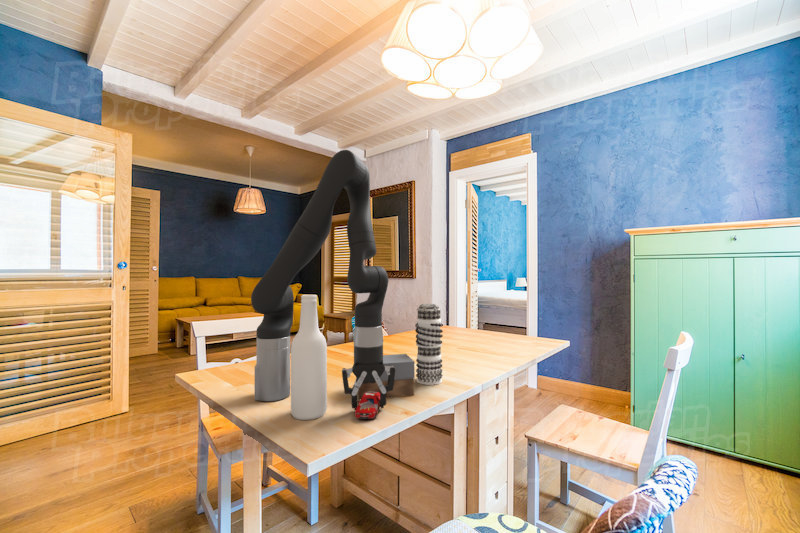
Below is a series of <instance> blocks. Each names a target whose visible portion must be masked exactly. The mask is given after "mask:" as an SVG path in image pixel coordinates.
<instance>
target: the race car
mask: <svg viewBox="0 0 800 533" xmlns="http://www.w3.org/2000/svg"><path fill="white" fill-rule="evenodd" d="M380 409H381V407H380V393H379V392H366V393H364V395H363V397H362V398H361V399H360V400H357V408H356V410H354V415H355V416H354V417H355V419H359V420H372V419H377V416H378V413H379V410H380Z"/></svg>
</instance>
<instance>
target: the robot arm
mask: <svg viewBox="0 0 800 533" xmlns="http://www.w3.org/2000/svg"><path fill="white" fill-rule="evenodd" d="M370 176H371V175H370V170H369V167H368V166H367V164H366V163H365V162H363V160H362V159H361V158H359V157H358V156H357V155H356V154H355V153H353V151H351V150H349V149H342V150H340V151H337V152H336V153H335V154H334V155H333V156H332V157H331V159H330V160H329V162H328V164H327V166H326V168H325V169H324V172H323V173H322V177H321V178H320V180H319V182H318V185H317V186H316V189H315V191H314V193H313V195H312V197H311V198H310V199H309V201H308V203H307V205H306V207H305V208H304V210H303V212H302V214H301V215H300V216H299V219H298V220H297V221H296V223H295V225H294V226H293V228H292V230H290V233H289V235H288V237H287V239H286V240H285V242H284V244H283V246H282V247H281V249H280V250H279V252H278V254H277V255H276V258H275V259H274V260H273V262H272V264H271V265H270V266H269V267H268V269H267V270H266V271H265V273H264V275H263V276H262V277H261V279H260V280H259V281H258V282H257V284H256V285H255V287H254V288H253V290H252V292H251V297H250V302H251V303H250V304H251V306H252V308H253V310H255V312H256V313H259V314H260V315H261V314H262V315H263V317H262V321H261V322H260V324H259V325H258V326H257V327H256V361H255V362H256V364H255V365H254V401H261V402H274V401H280V400H284V399H286V398H288V397H289V396H291V329H292V326H293V322H294V307H295V305H294V302H295V301H294V292H293V289H292V287H291V286H290V285H291V283H292V281H293V280H294V278H295V277H296V275H298V273H299V272H300V271H301V270H303V268H304V267H306V265H308V264H309V263H310V262H311V260H312V259H313V258H315V256H316V255H317V254H318V253H319V251H320V250H321V248H322V247H323V245H324V244H325V242H326V240H327V238H328V236H329V234H330V232H331V228H332V223H333V213H334V208H335V204H336V202H337V199H338V197H339V196H340V194H341V192H342V190H343V189H345V191H346V194H347V196H348V197H347V198H348V200H349V206H350V207H349V208H350V209H349V210H350V211H349V216H348V219H347V222H346V235H347V241H348V243H347V244H348V249H349V262H348V269H347V281H346V282H347V285H348V287H349V289H350V290H351V291H352V292H353V293H354V294H369V295H368V297H367V299H366V300H365V301H362V302H359V303H357V304H355V307H354V329H353V366H352V367H350V368H345V367H343V368H342V369H341V375H342V385H343V393H344V394H345V395H350V396H351V408H352V409H354V411H355V410H356V408H357V406H358V402H357V401H358V394H357V392H358V390H359V388H360V386H361V384H362V383H363V384H366V383H375V382H377V384H378V386H379V388H380V390H381V391H380V409H384V407H385V406H386V405H387V398H386V393H387V392H388V391H392V390H393V386H394V377H395V368H394V366H393V365H391V366H384V364H383V355H384V332H383V321H382V320H383V319H382V318H383V317H382V316H383V312H382V311H383V307H384V302H385V297H386V294H387V290H388V285H389V276H388V273H387V271H386V269H385V268H384V267H382V266H380V265H364V261H366V260H369V259H371V258H373V257H375V256H376V254H377V245H376V239H375V234H374V229H373V223H372V213H371V212H372V211H371V193H370V192H371V190H370V189H371V186H370V185H371V184H370V183H371V178H370ZM384 371H386V373H387V375H388V383H387V385H386V386H384V385H383V383H382V381H381V379H380V377H381V375H382V374H383V372H384ZM351 374H353V375H354V376H355V381H354V383H353V386H352V387H349V380H348V378H350V377H351ZM356 377H357V378H356Z"/></svg>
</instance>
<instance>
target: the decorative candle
mask: <svg viewBox="0 0 800 533" xmlns="http://www.w3.org/2000/svg"><path fill="white" fill-rule="evenodd" d="M441 310H442V308H441V307H440V306H439V305H438V304H436V303H422V304H420V305H419V307H418V308H416V311H417V318H416V323H415V330H414V332H415V333H416V334H415V338H416V340H415V343H416V346H417V354H416V362H417V363H416V364H415V365H416V367H417V369H415V373H416V374H415V376H416V377H415V378H416V382H417V383H418V384H421V385H424V386H426V385H427V386H432V385H433V386H434V384H435V385H439V384H442V383H443V379H442V378H443V369H442V368H443V364H442V363H443V359H442V353H441V350H442V349H441V347H442V346H443V340H441V338H442V337H443V336H444V335H443V334H442V333H443V332H444V331H443V330H442V329H441V328H442V327H443V326H444V324H443V323H442V318H441Z"/></svg>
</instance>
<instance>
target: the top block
mask: <svg viewBox="0 0 800 533" xmlns="http://www.w3.org/2000/svg"><path fill="white" fill-rule="evenodd" d="M383 364H384V366H391V365H393V366H394V368H395V377H394V380H405V379H414V380H415V378H416V377H415V360H413V359H412V358H411V357H410V356H409V355H408V354H407V353H399V354H396V353H394V354H383ZM380 379H381V381H388V375H387V373H386V371H384V372H383V374H382V375H381V377H380Z"/></svg>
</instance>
